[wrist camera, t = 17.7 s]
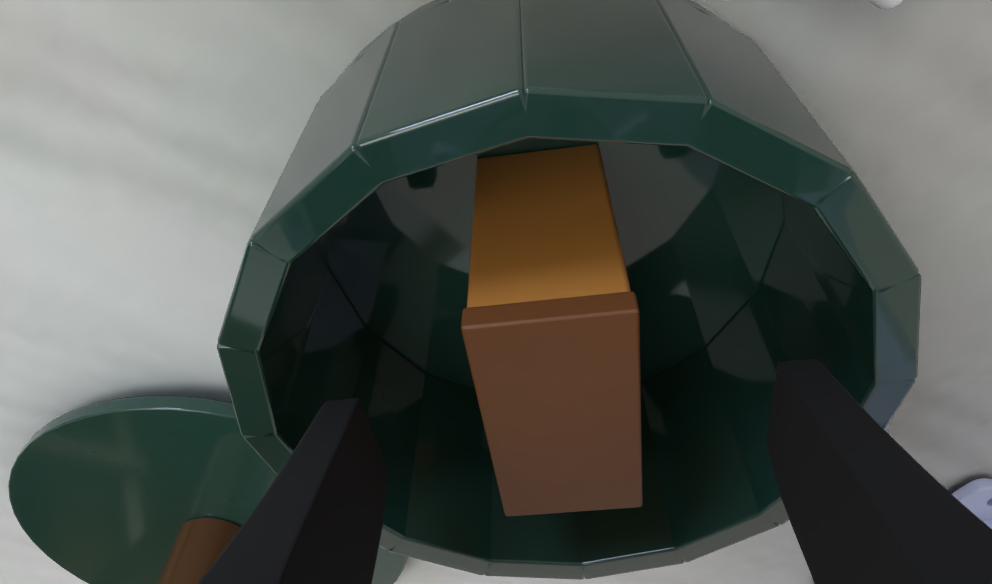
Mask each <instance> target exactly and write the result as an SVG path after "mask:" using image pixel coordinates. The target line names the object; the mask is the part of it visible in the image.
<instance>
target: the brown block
mask: <svg viewBox="0 0 992 584" xmlns="http://www.w3.org/2000/svg"><path fill="white" fill-rule="evenodd" d="M461 331H462V335H463V339H464V344H465V348H466V352H467V356H468V361H469V365H470V369H471V373H472V378H473V382H474V386H475V390H476V395H477V399H478V403H479V407H480V412H481V416H482V420H483V424H484V429H485V433H486V437H487V441H488V445H489V450H490V454H491V458H492V462H493V467H494V471H495V475H496V479H497V484H498V488H499V492H500V496H501V501H502V505H503V509H504V513H505V515H506V516H521V515H535V514H549V513H563V512H577V511H591V510H606V509H620V508H634V507H641V506H642V504H643V495H642V435H641V376H640V317H639V307H638V303H637V298H636V294H635V293H634V292H632V291H631V290H630V285H629V281H628V276H627V272H626V267H625V262H624V258H623V253H622V249H621V244H620V239H619V235H618V230H617V226H616V221H615V216H614V212H613V207H612V203H611V198H610V193H609V189H608V184H607V180H606V175H605V171H604V166H603V161H602V157H601V152H600V148H599V146H598V145H596V144H592V145H584V146H576V147H568V148H560V149H552V150H543V151H535V152H527V153H519V154H511V155H503V156H494V157H486V158H480V159H478V160H477V165H476V179H475V194H474V209H473V224H472V238H471V253H470V268H469V283H468V297H467V308H465V309H463V311H462V321H461Z"/></svg>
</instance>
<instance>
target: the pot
mask: <svg viewBox="0 0 992 584" xmlns="http://www.w3.org/2000/svg"><path fill="white" fill-rule="evenodd" d="M592 144H596V145H598V146H599V148H600V152H601V157H602V161H603V166H604V171H605V175H606V180H607V184H608V189H609V193H610V198H611V203H612V207H613V212H614V216H615V221H616V226H617V230H618V235H619V239H620V244H621V249H622V253H623V258H624V262H625V267H626V272H627V276H628V281H629V285H630V290H631V291H632V292H634V293H635V294H636V298H637V303H638V307H639V317H640V376H641V435H642V495H643V504H642V506H641V507H634V508H620V509H606V510H591V511H577V512H563V513H549V514H535V515H521V516H506V515H505V513H504V509H503V505H502V501H501V496H500V492H499V488H498V484H497V479H496V475H495V471H494V467H493V462H492V458H491V454H490V450H489V445H488V441H487V437H486V433H485V429H484V424H483V420H482V416H481V412H480V407H479V403H478V399H477V395H476V390H475V386H474V382H473V378H472V373H471V369H470V365H469V361H468V356H467V352H466V348H465V344H464V339H463V335H462V331H461V321H462V311H463V309H465V308H467V297H468V283H469V268H470V253H471V238H472V224H473V209H474V194H475V179H476V165H477V160H478V159H480V158H486V157H494V156H503V155H511V154H519V153H527V152H535V151H543V150H552V149H560V148H568V147H576V146H584V145H592ZM920 296H921V275H920V274H919V273H918V268H917V266H916V265H915V263H914V262H913V260H912V258H911V257H910V255H909V254H908V252H907V251H906V249H905V248H904V246H903V245H902V243H901V241H900V240H899V238H898V237H897V235H896V234H895V232H894V231H893V229H892V228H891V226H890V225H889V223H888V221H887V220H886V218H885V217H884V215H883V214H882V212H881V211H880V209H879V208H878V206H877V204H876V203H875V201H874V200H873V198H872V197H871V195H870V194H869V192H868V191H867V189H866V188H865V186H864V184H863V183H862V181H861V180H860V178H859V177H858V175H857V174H856V172H855V171H854V170H853V168H852V167H851V166H850V164H849V163H848V162H847V161H846V159H845V158H844V157H843V155H842V154H841V153H840V151H839V150H838V149H837V148H836V146H835V145H834V144H833V142H832V141H831V140H830V138H829V137H828V136H827V135H826V133H825V132H824V131H823V129H822V128H821V127H820V125H819V124H818V123H817V122H816V120H815V119H814V118H813V116H812V115H811V114H810V112H809V111H808V110H807V109H806V107H805V106H804V105H803V103H802V102H801V101H800V99H799V98H798V97H797V96H796V94H795V93H794V92H793V90H792V89H791V88H790V86H789V85H788V84H787V83H786V81H785V80H784V79H783V77H782V76H781V75H780V73H779V72H778V71H777V70H776V68H775V67H774V66H773V64H772V63H771V62H770V60H769V59H768V58H767V57H766V55H765V54H764V53H763V51H762V50H761V49H760V47H759V46H758V45H757V44H756V43H754V41H753V40H752V39H751V38H749V37H747V36H745V35H743V34H742V33H740V32H738V31H736V30H734V29H733V28H732V27H731V26H730V25H729V24H727V23H726V22H724V21H723V20H721V19H720V18H718V17H717V16H715V15H714V14H712V13H710V12H709V11H707V10H706V9H704V8H703V7H701V6H700V5H698V4H696V3H694V2H692V1H690V0H435V1H432V2H430V3H428V4H426V5H423V6H421V7H420V8H418V9H417V10H415V11H414V12H412V13H410V14H409V15H407V16H406V17H404V18H402V19H401V20H399V21H398V22H396V23H395V24H393V25H392V26H390V27H389V28H387V29H386V30H385V31H384V32H383V33H382V34H380V35H379V36H378V37H377V38H376V39H375V40H374V41H372V42H371V43H370V44H369V45H368V46H367V47H365V48H364V49H363V50H362V51H361V52H360V53H359V54H358V55H357V56H356V58H355V59H354V60H353V61H352V62H351V63H350V65H349V66H348V67H347V68H346V69H345V70H344V72H343V73H342V74H341V75H340V76H339V77H338V79H337V80H336V82H335V83H334V84H333V85H332V86H331V87H330V88H329V89H328V90H327V91H326V92H325V93H324V94H323V95H322V96H321V97H320V99H319V101H318V103H317V104H316V106H315V108H314V110H313V112H312V114H311V116H310V118H309V120H308V122H307V124H306V126H305V128H304V130H303V132H302V134H301V136H300V138H299V140H298V142H297V144H296V146H295V148H294V150H293V152H292V154H291V156H290V158H289V160H288V162H287V164H286V166H285V168H284V170H283V172H282V174H281V176H280V178H279V180H278V182H277V184H276V186H275V188H274V190H273V192H272V194H271V196H270V198H269V200H268V202H267V204H266V206H265V208H264V210H263V212H262V214H261V216H260V218H259V220H258V222H257V224H256V226H255V228H254V231H253V233H252V235H251V237H250V239H249V241H248V243H247V246H246V249H245V252H244V256H243V259H242V262H241V265H240V269H239V272H238V275H237V278H236V282H235V285H234V288H233V291H232V295H231V298H230V301H229V304H228V308H227V311H226V314H225V317H224V321H223V324H222V327H221V330H220V334H219V337H218V344H217V349H218V353H219V357H220V360H221V364H222V367H223V371H224V375H225V378H226V382H227V385H228V389H229V393H230V396H231V400H232V403H233V407H234V411H235V414H236V418H237V421H238V425H239V429H240V432H241V435H243V437H244V439H245V440H246V441H247V442H248V444H249V445H250V446H251V447H252V448H253V449H254V450H255V451H256V452H257V454H258V455H259V456H260V457H261V458H262V459H263V460H264V461H265V462H266V463H267V465H268V466H269V467H270V468H271V469H272V470H273V471H274V472H275V473H276V475H278V474H279V472H280V471H281V470H282V468H283V466H284V465H285V463H286V462H287V460H288V459H289V457H290V456H291V454H292V453H293V451H294V450H295V448H296V446H297V445H298V443H299V442H300V440H301V439H302V437H303V435H304V434H305V432H306V431H307V429H308V427H309V426H310V424H311V423H312V421H313V419H314V418H315V416H316V415H317V413H318V412H319V410H320V408H321V407H322V405H323V404H324V403H325V402H326V401H329V400H340V399H352V398H360V400H361V403H362V406H363V408H364V411H365V413H366V416H367V418H368V421H369V423H370V426H371V429H372V431H373V434H374V436H375V439H376V441H377V444H378V447H379V449H380V452H381V454H382V457H383V459H384V462H385V464H386V467H387V479H386V495H385V508H384V519H383V527H382V532H381V538H380V543H379V546H380V547H382V548H384V549H385V550H389V551H390V552H393V553H397V554H400V555H404V556H408V557H412V558H416V559H420V560H424V561H428V562H432V563H435V564H439V565H443V566H447V567H451V568H455V569H459V570H463V571H467V572H470V573H474V574H478V575H484V574H485V575H486V576H505V577H530V578H555V579H584V578H585V579H591V578H597V577H603V576H609V575H615V574H621V573H627V572H633V571H640V570H646V569H652V568H658V567H664V566H670V565H676V564H682V563H684V562H689V561H692V560H694V559H697V558H699V557H702V556H704V555H707V554H709V553H712V552H714V551H717V550H719V549H722V548H725V547H727V546H730V545H732V544H735V543H737V542H740V541H742V540H745V539H747V538H750V537H752V536H755V535H757V534H760V533H762V532H765V531H767V530H770V529H772V528H775V527H777V526H779V525H780V524H784V523H785V522H787V521H788V520H789V517H788V514H787V512H786V509H785V507H784V504H783V501H782V499H781V496H780V492H779V489H778V485H777V481H776V478H775V474H774V470H773V466H772V462H771V459H770V455H769V451H768V447H767V443H766V436H767V430H768V424H769V417H770V411H771V404H772V398H773V392H774V385H775V379H776V372H777V366H778V362H782V361H793V360H805V359H817V360H819V361H820V362H821V363H822V364H823V365H824V366H825V367H826V368H827V369H828V370H829V372H830V373H831V374H832V375H833V376H834V377H835V378H836V379H837V380H838V381H839V383H840V384H841V385H842V386H843V387H844V388H845V389H846V390H847V391H848V392H849V393H850V395H851V396H852V397H853V398H854V399H855V400H856V401H857V402H858V403H859V404H860V405H861V406H862V407H863V408H864V409H865V410H866V411H867V413H868V414H869V415H870V416H871V417H872V418H873V419H874V420H875V421H876V422H877V423H878V424H879V425H880V426H881V427H882V428H883V429H884V430H885V428H886V427H887V425H888V423H889V422H890V420H891V419H892V417H893V415H894V414H895V412H896V411H897V409H898V407H899V406H900V404H901V403H902V401H903V400H904V398H905V396H906V395H907V393H908V392H909V390H910V388H911V387H912V385H913V384H914V382H915V378H917V370H918V345H919V320H920Z"/></svg>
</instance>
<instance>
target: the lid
mask: <svg viewBox="0 0 992 584" xmlns="http://www.w3.org/2000/svg"><path fill="white" fill-rule="evenodd" d="M276 477H277V475H276V473H275V472H274V471H273V470H272V469H271V468H270V467H269V466H268V465H267V463H266V462H265V461H264V460H263V459H262V458H261V457H260V456H259V455H258V454H257V452H256V451H255V450H254V449H253V448H252V447H251V446H250V445H249V444H248V442H247V441H246V440H245V439H244V437H243V435H241V432H240V429H239V425H238V421H237V418H236V414H235V411H234V407H233V403H228V402H222V401H217V400H211V399H203V398H192V397H180V396H143V397H132V398H121V399H115V400H110V401H105V402H100V403H95V404H91V405H88V406H85V407H82V408H79V409H76V410H73V411H71V412H69V413H67V414H65V415H63V416H61V417H59V418H57V419H55V420H53V421H51V422H50V423H48V424H47V425H46V426H44V427H43V428H42V429H40V430H39V431H38V432H36V433H35V435H34V436H33V437H32V438H31V439H30V440H29V441H28V443H27V444H26V445H25V446H24V448H23V449H22V451H21V452H20V454H19V455H18V457H17V459H16V461H15V463H14V465H13V467H12V469H11V474H10V479H9V485H8V486H9V498H10V502H11V505H12V509H13V512H14V514H15V516H16V518H17V520H18V522H19V523H20V525H21V527H22V529H23V530H24V531H25V532H26V534H27V535H28V536H29V537H30V539H31V540H32V541H33V542H34V543H35V544H36V545H37V546H38V547H39V548H40V549H41V550H42V551H43V552H44V553H45V554H46V555H47V556H48V557H50V558H51V559H52V560H53V561H55V562H56V563H57V564H59V565H60V566H61V567H62V568H64V569H66V570H67V571H69V572H70V573H72V574H73V575H75V576H76V577H78V578H80V579H81V580H83V581H85V582H87V583H89V584H197V583H198V582H199V581H200V579H201V578H202V577H203V576H204V575H205V573H206V572H207V571H208V570H209V568H210V567H211V566H212V565H213V563H214V562H215V561H216V560H217V558H218V557H219V556H220V555H221V553H222V552H223V551H224V549H225V548H226V547H227V545H228V544H229V543H230V541H231V540H232V539H233V537H234V536H235V535H236V533H237V532H238V531H239V529H240V528H241V527H242V525H243V524H244V523H245V521H246V520H247V519H248V517H249V516H250V515H251V513H252V512H253V510H254V509H255V508H256V506H257V505H258V503H259V502H260V500H261V499H262V497H263V496H264V494H265V493H266V492H267V490H268V489H269V487H270V486H271V484H272V483H273V481H274V480H275V478H276ZM407 558H408V556H404V555H400V554H397V553H393V552H390V551H389V550H385V549H384V548H382V547H380V546H379V548H378V553H377V559H376V564H375V569H374V574H373V579H372V584H394V583H395V582H396V581H397V579H398V577H399V576H400V574H401V572H402V571H403V569H404V567H405V564H406V561H407Z"/></svg>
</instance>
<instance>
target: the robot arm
mask: <svg viewBox="0 0 992 584" xmlns="http://www.w3.org/2000/svg"><path fill="white" fill-rule="evenodd" d="M766 443H767V447H768V451H769V455H770V459H771V462H772V466H773V470H774V474H775V478H776V481H777V485H778V489H779V492H780V496H781V499H782V501H783V504H784V507H785V509H786V512H787V514H788V517H789V519H790V522H791V524H792V527H793V530H794V532H795V535H796V537H797V540H798V542H799V545H800V547H801V550H802V552H803V555H804V557H805V560H806V562H807V565H808V567H809V570H810V572H811V575H812V577H813V580H814V582H815V583H814V584H992V479H987V478H981V479H976V480H973V481H971V482H969V483H967V484H966V485H964V486H963V487H961V488H959V489H958V490H956V491H955V492H953V493H952V494H951V493H950V492H949V491H947V490H946V489H945V488H944V487H943V486H942V485H941V484H940V483H939V482H938V481H936V480H935V479H934V478H933V477H932V476H931V475H930V474H929V473H928V472H927V471H926V470H925V469H924V468H923V467H922V466H921V465H920V464H918V463H917V462H916V461H915V460H914V459H913V458H912V457H911V456H910V455H909V454H908V453H907V452H906V451H905V450H904V449H903V448H902V447H901V446H900V445H899V444H898V443H897V442H896V441H895V440H894V439H893V438H892V437H891V436H890V435H889V434H888V433H887V432H886V431H885V430H884V429H883V428H882V427H881V426H880V425H879V424H878V423H877V422H876V421H875V420H874V419H873V418H872V417H871V416H870V415H869V414H868V413H867V411H866V410H865V409H864V408H863V407H862V406H861V405H860V404H859V403H858V402H857V401H856V400H855V399H854V398H853V397H852V396H851V395H850V393H849V392H848V391H847V390H846V389H845V388H844V387H843V386H842V385H841V384H840V383H839V381H838V380H837V379H836V378H835V377H834V376H833V375H832V374H831V373H830V372H829V370H828V369H827V368H826V367H825V366H824V365H823V364H822V363H821V362H820V361H819V360H817V359H805V360H793V361H782V362H778V366H777V372H776V379H775V385H774V392H773V398H772V404H771V411H770V417H769V424H768V430H767V436H766ZM386 479H387V467H386V464H385V462H384V459H383V457H382V454H381V452H380V449H379V447H378V444H377V441H376V439H375V436H374V434H373V431H372V429H371V426H370V423H369V421H368V418H367V416H366V413H365V411H364V408H363V406H362V403H361V400H360V398H352V399H340V400H329V401H326V402H325V403H324V404H323V405H322V407H321V408H320V410H319V412H318V413H317V415H316V416H315V418H314V419H313V421H312V423H311V424H310V426H309V427H308V429H307V431H306V432H305V434H304V435H303V437H302V439H301V440H300V442H299V443H298V445H297V446H296V448H295V450H294V451H293V453H292V454H291V456H290V457H289V459H288V460H287V462H286V463H285V465H284V466H283V468H282V470H281V471H280V472H279V474H278V475H277V477H276V478H275V480H274V481H273V483H272V484H271V486H270V487H269V489H268V490H267V492H266V493H265V494H264V496H263V497H262V499H261V500H260V502H259V503H258V505H257V506H256V508H255V509H254V510H253V512H252V513H251V515H250V516H249V517H248V519H247V520H246V521H245V523H244V524H243V525H242V527H241V528H240V529H239V531H238V532H237V533H236V535H235V536H234V537H233V539H232V540H231V541H230V543H229V544H228V545H227V547H226V548H225V549H224V551H223V552H222V553H221V555H220V556H219V557H218V558H217V560H216V561H215V562H214V563H213V565H212V566H211V567H210V568H209V570H208V571H207V572H206V573H205V575H204V576H203V577H202V578H201V579H200V581H199V582H198V583H197V584H372V579H373V574H374V569H375V564H376V559H377V553H378V548H379V543H380V538H381V532H382V527H383V519H384V508H385V495H386Z"/></svg>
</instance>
